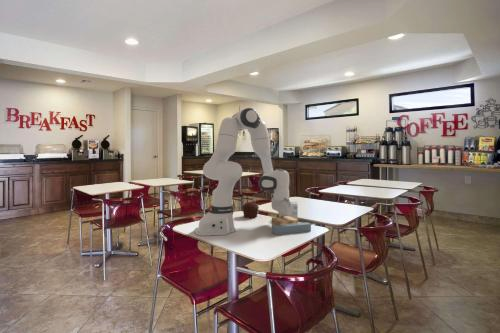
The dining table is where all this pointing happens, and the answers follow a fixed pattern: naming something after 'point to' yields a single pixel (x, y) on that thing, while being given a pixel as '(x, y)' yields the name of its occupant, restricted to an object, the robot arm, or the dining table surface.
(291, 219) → the oak block
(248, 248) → the dining table surface
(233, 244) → the dining table surface
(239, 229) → the dining table surface
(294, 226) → the blue-grey bar
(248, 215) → the muffin
